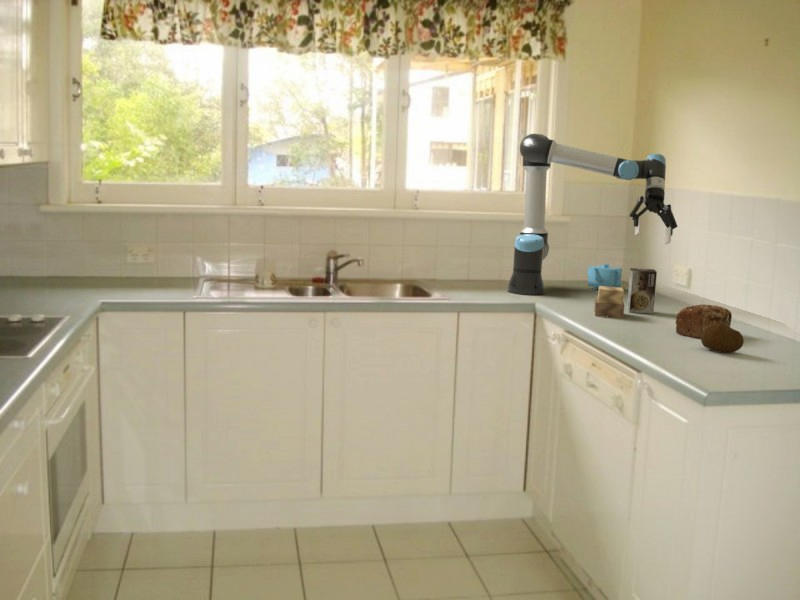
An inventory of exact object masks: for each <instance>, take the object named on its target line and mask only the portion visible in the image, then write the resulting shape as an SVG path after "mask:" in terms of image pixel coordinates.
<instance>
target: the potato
mask: <svg viewBox="0 0 800 600" xmlns="http://www.w3.org/2000/svg"><path fill="white" fill-rule="evenodd" d="M700 339H701V343H702V345H703V346H704V348H707V349H709V350H711V351H713V352H717V353H722V354H731V353H732V354H733V353H735V352H737V351H739V350H740V349H742V347H743V346H744V341H745V340H744V337H743V334H742V333H741V332H740V331H739V330H736V329H735V328H732V327H731V326H730V327H729V326H728V325H726V324H723V323H711V324H709V325H708V326H706V327H705V329H704V330H703V332H702V335H701V338H700Z"/></svg>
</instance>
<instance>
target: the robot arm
mask: <svg viewBox="0 0 800 600" xmlns="http://www.w3.org/2000/svg"><path fill="white" fill-rule="evenodd" d="M519 151H520V155H521V157H522V168H523V169H524V170H525V187H524V188H525V191H524V193H525V194H524V220H523V221H524V223H523V224H524V225H523V228H522V229H521V230H520V234H519V235H517V236H516V237H515V241H514V251H513V266H512V267H513V269H512V273H511V275H510V276H511V277H510V279H509V281H508V283H507V292H509V293H513V294H518V295H528V296H529V295H531V296H534V295H535V296H537V295H538V294H539V295H543V293H544V294H545V285H544V280H543V276H542V269H543V261H544V260H545V259H546V258H547V256H548V255H549V254H548V253H549V252H550V246H549V242H548V240H549V237H548V236H549V232H548V230H547V229H546V228H545V221H546V196H547V174H548V173H547V172H548V170H549V169H550V168H551V164H552V163H555V164H558V165H562V166H568V167H571V168H576V169H581V170H585V171H588V172H589V171H590V172H592V173H598V174H602V175H605V176H606V175H607V176H611V177H615V178H616V179H618V180H625V181H631V180H645V186H644V187H645V189H644V190H645V191H644V196H643V195H641V196H640V197H638V199H637V202H636V204H635V206H634V207H633V209H632V210H631V211H630V214H629V217H630V218H632V221H633V227H634V236H638V235H640V234H641V228H642V218H641V216H642V215H644V214H645V213H646V212H647V211H648V212H651V213H654V214H657V216H659V218H660V219H661V221H662V222H663V223H664V226H665V227H666V228H665V231H664V232H665V233H664V234H665V237H664V245H668V244H670V243H672V240H671V239H672V236H673V231H674V229H676V228H678V224H677V222H676V221H677V220H676V218H675V215H674V214H673V211H672V205H671V204H665V203H664V202H665V196H666V195H665V187H666V185H665V184H666V172H667V171H666V168H667V166H666V165H667V163H666V157H665V156H664V155H663V154H660V153H653V154H649V155H648V156H647V157H646V159H645V160H644V159H643V160H637V159H634V160H631V159H626V158H621V157H616V156H613V155H609V154H604V153H600V152H596V151H595V152H594V151H590V150H586V149H582V148H578V147H574V146H569V145H564V144H559V143H557V141H556V140H555V139H550V138H549V137H548V136H546V135H544V134H540V133H529V134H528V135H526V136H524V137H523V138H522V140H521V141H520V144H519ZM643 203H644V205H645V207H643V209H642V210H641V211H639V209H640V207H641V206H642V204H643ZM638 211H639V212H638ZM637 212H638V213H637ZM539 295H538V296H539Z"/></svg>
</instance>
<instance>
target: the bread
mask: <svg viewBox="0 0 800 600" xmlns="http://www.w3.org/2000/svg"><path fill="white" fill-rule="evenodd" d="M732 319H733V318H732V312H731V311H730V310H729V309H728V308H724V307H722V306H718V305H711V304H705V303H704V304H696V305H691V306H686V307H684V308H682V309H680V310H679V311H678V312H677V313H676V318H675V325H676V326H675V331H676V332H675V333H676V334H678V335H680V336H685V337H690V338H694V339H701V335H702V332H703V330H704V329H705V327H706V326H708V325H709V324H711V323H723V324H726V325H728V326H729V327H730V328H731V323H732Z"/></svg>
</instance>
